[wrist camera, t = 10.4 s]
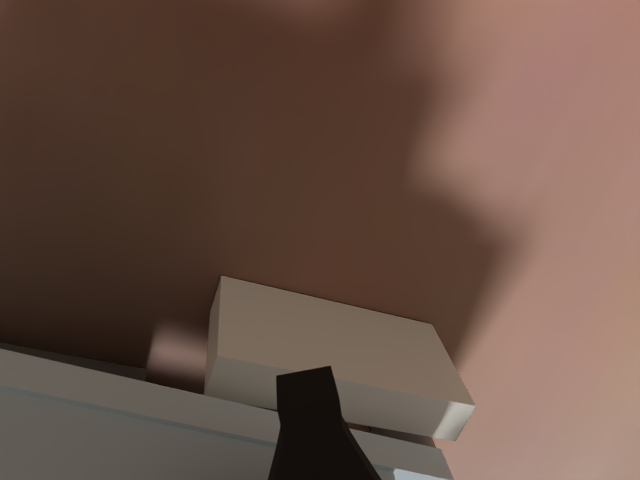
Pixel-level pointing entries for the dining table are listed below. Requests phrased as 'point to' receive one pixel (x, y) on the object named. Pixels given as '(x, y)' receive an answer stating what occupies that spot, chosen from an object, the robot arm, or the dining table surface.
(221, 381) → the pale grey rectangular block
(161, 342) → the dining table surface
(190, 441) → the cover
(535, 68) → the dining table surface
